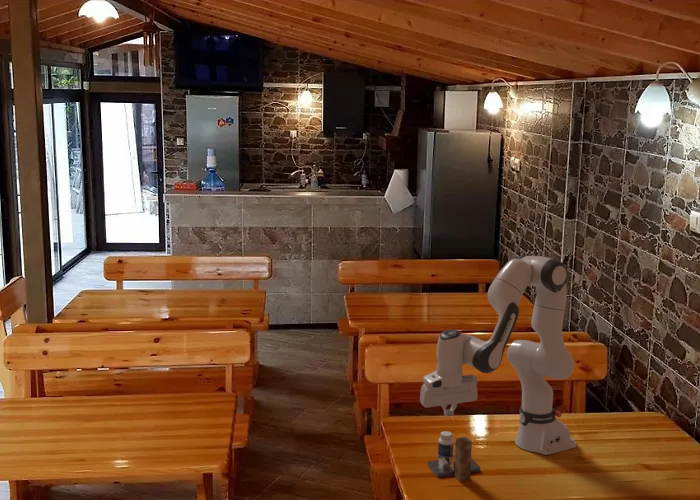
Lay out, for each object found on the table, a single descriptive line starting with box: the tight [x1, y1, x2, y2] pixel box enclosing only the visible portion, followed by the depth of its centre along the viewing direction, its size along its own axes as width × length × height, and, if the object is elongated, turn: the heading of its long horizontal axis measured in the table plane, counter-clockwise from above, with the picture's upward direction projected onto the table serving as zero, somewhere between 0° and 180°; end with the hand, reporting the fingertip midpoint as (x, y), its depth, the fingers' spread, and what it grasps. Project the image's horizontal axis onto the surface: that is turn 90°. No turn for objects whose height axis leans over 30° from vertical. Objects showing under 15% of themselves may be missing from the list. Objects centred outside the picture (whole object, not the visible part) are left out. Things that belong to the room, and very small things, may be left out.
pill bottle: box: [437, 430, 454, 460], centre depth 271 cm, size 5×5×10 cm
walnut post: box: [453, 436, 473, 482], centre depth 257 cm, size 4×4×14 cm
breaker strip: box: [427, 455, 482, 478], centre depth 265 cm, size 16×9×4 cm, turn 106°
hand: (448, 415), depth 261 cm, fingers closed
